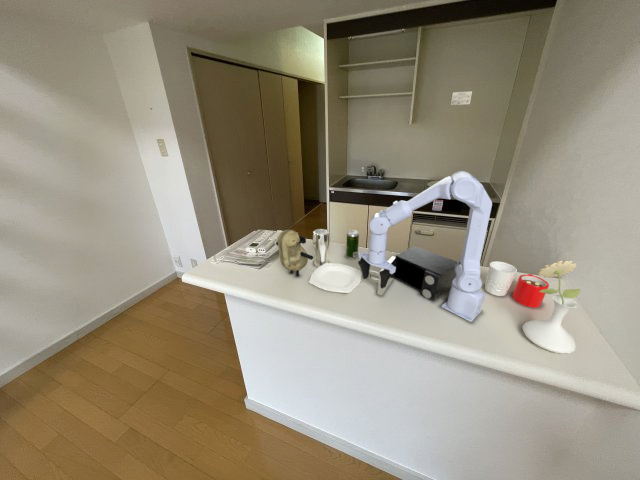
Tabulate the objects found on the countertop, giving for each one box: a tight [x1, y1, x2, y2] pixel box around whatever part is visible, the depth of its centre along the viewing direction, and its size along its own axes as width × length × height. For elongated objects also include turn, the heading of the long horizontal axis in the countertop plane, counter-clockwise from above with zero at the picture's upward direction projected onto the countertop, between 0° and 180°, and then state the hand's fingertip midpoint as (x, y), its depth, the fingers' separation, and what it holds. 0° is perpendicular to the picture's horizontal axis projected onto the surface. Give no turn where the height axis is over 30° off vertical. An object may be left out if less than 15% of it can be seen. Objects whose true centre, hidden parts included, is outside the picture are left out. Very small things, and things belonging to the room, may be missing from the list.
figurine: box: [275, 229, 314, 278], centre depth 100 cm, size 19×12×20 cm, turn 49°
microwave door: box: [367, 255, 396, 296], centre depth 95 cm, size 7×13×10 cm, turn 147°
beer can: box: [345, 229, 360, 260], centre depth 115 cm, size 5×5×12 cm
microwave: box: [393, 245, 459, 302], centre depth 96 cm, size 15×18×10 cm
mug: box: [511, 273, 550, 308], centre depth 88 cm, size 8×12×8 cm, turn 152°
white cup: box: [484, 260, 518, 297], centre depth 91 cm, size 8×8×10 cm
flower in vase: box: [522, 260, 581, 354], centre depth 67 cm, size 13×11×25 cm
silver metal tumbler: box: [312, 228, 330, 268], centre depth 109 cm, size 7×7×15 cm
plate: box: [308, 262, 363, 294], centre depth 99 cm, size 19×19×2 cm
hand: (374, 282), depth 92 cm, fingers open, 7 cm apart
